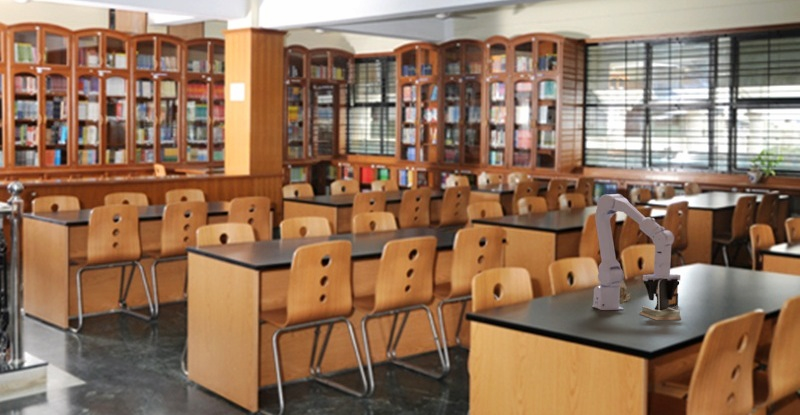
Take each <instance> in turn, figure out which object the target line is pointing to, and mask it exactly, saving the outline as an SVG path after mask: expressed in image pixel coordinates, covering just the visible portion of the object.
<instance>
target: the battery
mask: <svg viewBox="0 0 800 415" xmlns="http://www.w3.org/2000/svg"><path fill="white" fill-rule="evenodd" d="M654 282H655V283H656V286H655V291H654V297H656V306H655V307H654V310H657V311H662V310H664V309H667V308H668V307H669V281H668V279H662V278H658V280H654Z"/></svg>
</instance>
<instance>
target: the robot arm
mask: <svg viewBox="0 0 800 415" xmlns="http://www.w3.org/2000/svg"><path fill="white" fill-rule="evenodd" d="M596 205H597V207H596V210H595V214H594V221H595V226H596V232H597V233H596V234H597V240H598V247H599V252H600V259H601V262H600V263H599V265H598V273H597V280H598V282H599V283H600V285H596V286H595V287H594V288H593V300H592V304H593V305H592V307H593V308H595V309H598V310H600V311H614V310H615V311H617V310H620V311H621V310H624V307H622V306H620V303H619V299H620V283H621V282H622V281H624V278H625V274H624V271H623V269H622V268H621V264H620V262H619V261H618V260H617V258H616V257H617V256H616V251H615V245H614V238H613V232H612V227H611V225H612V224H611V218H612V217H613V216H614V215H615V213H619V212H622V213H624V214H625V215H626V216H628V217H629V218H630V219H632V220H633V221H635V223H637V224H638V229H639V230H640V231H642V232H643V233H644V234H645V235H646V236H648V237H649V238H650V239H651V240H652V243H653V245H654V263H653V273H652V274H643V275H642V281H643V284H644V286H645V288H646V293H647V296H648V300H650V301H654V300H655V294H654V291H655V286H656V283H655V282H654V280H658V279H659V278H662V279H668V281H669V300H672V298H673V295H674V292H675V290H676V288H677V286H678V287H679V285H680V281H681V275H680V274H672V273H671V263H672V262H671V261H672V260H671V258H672V245H673V243H674V242H675V235H674V233H673V232H672V231H671V230H669V229H666V228H665V227H664V226H661V225H660V224H658V222H656V219H655V218H654V217H649V216H647V217H645V215H643V214H642V213H641V212H640V211H639V210H638V209H637V208H636V207H635V206H634V205H632V203H630V202H629V200H628V199H627V198H626V197H624V196H623V195H622V194H620V193H615V194H613V193H612V194H608V193H607V194H605V193H604V194H603V195H601V196H600V197H599V198H598V200H596ZM665 229H666V230H665Z"/></svg>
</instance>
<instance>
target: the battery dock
mask: <svg viewBox="0 0 800 415" xmlns="http://www.w3.org/2000/svg"><path fill="white" fill-rule="evenodd" d="M641 308H642V309H641V311H639V313H638V314H639V315H642V316H643V317H646V318H650V319H653V320H655V321H667V320H668V321H670V320H671V321H672V320H674V321H675V320H682V316H681V312H680V310H679V309H678V310H677V309H674V308H673V307H670V308H669V307H668V308H667V309H664V310H662V311H659V310H655V308H654V309H653V308H651V307H648V306H642V307H641Z"/></svg>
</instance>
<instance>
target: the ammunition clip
mask: <svg viewBox="0 0 800 415" xmlns="http://www.w3.org/2000/svg"><path fill="white" fill-rule="evenodd" d="M678 287H679V285H678V286H677V288H676V290H675V292H674V295H673V298H672V300H669V308H673V307H679V306H678V305H679V293H678V290H679V289H678Z"/></svg>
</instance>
